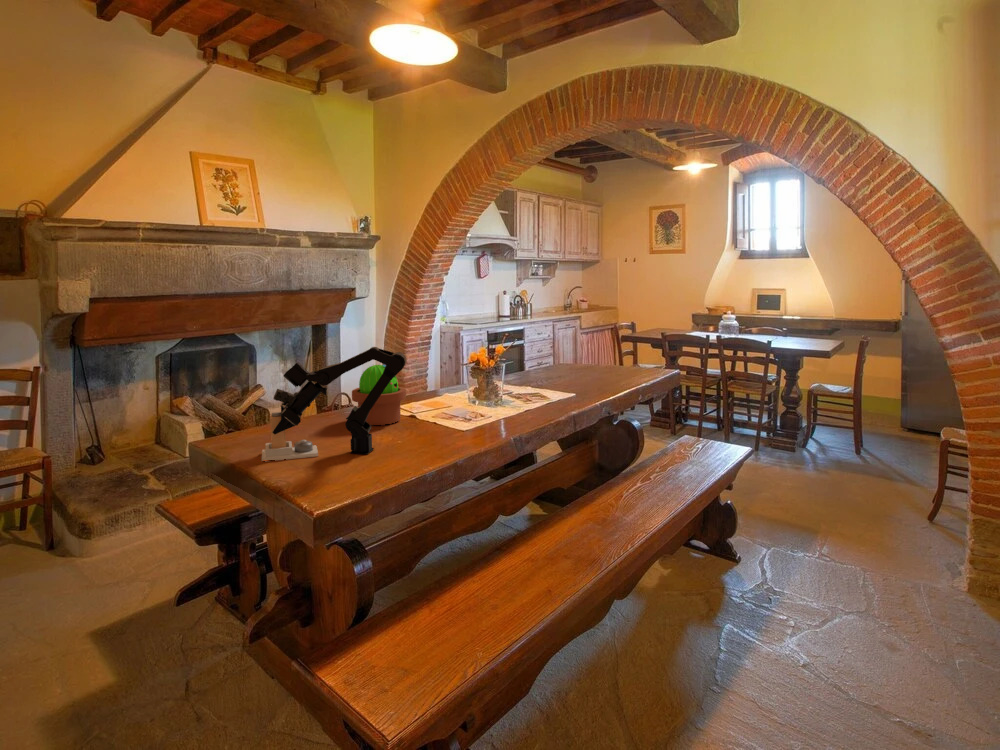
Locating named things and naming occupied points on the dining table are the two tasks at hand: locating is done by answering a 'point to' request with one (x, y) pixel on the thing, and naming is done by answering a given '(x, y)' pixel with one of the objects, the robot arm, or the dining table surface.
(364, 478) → the dining table surface
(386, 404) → the potted cactus
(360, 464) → the dining table surface
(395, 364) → the robot arm
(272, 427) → the block
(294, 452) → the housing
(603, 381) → the dining table surface
